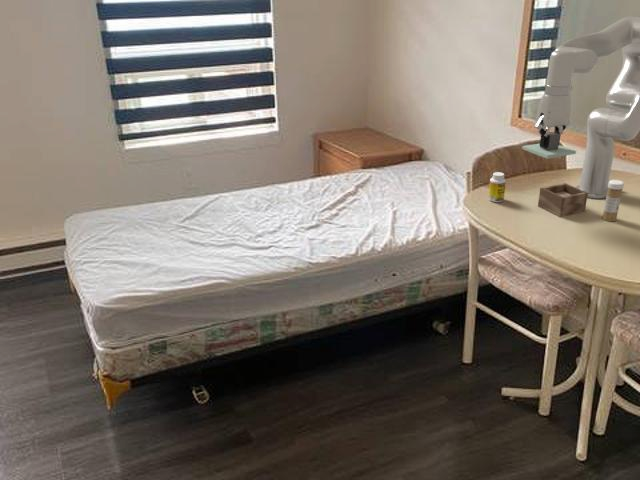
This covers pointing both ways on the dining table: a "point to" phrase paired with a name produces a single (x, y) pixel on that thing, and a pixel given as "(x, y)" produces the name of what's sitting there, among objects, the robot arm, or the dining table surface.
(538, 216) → the dining table surface
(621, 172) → the dining table surface
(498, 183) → the supplement bottle
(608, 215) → the sprinkles bottle
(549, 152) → the lid
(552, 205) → the storage box
